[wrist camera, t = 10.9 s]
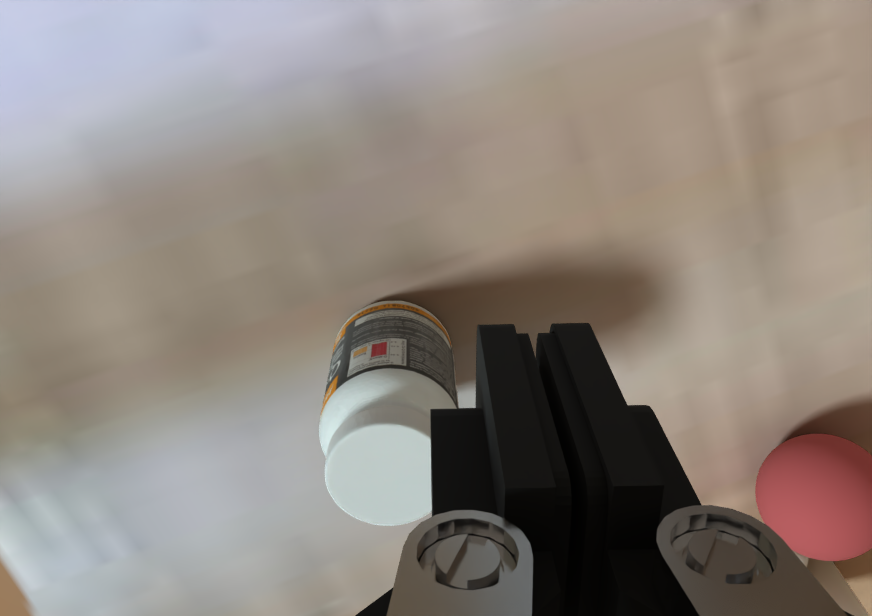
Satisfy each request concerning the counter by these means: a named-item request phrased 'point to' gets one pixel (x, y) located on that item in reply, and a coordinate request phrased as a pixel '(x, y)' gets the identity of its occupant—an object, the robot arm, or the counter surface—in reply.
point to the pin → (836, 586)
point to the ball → (818, 496)
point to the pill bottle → (385, 411)
